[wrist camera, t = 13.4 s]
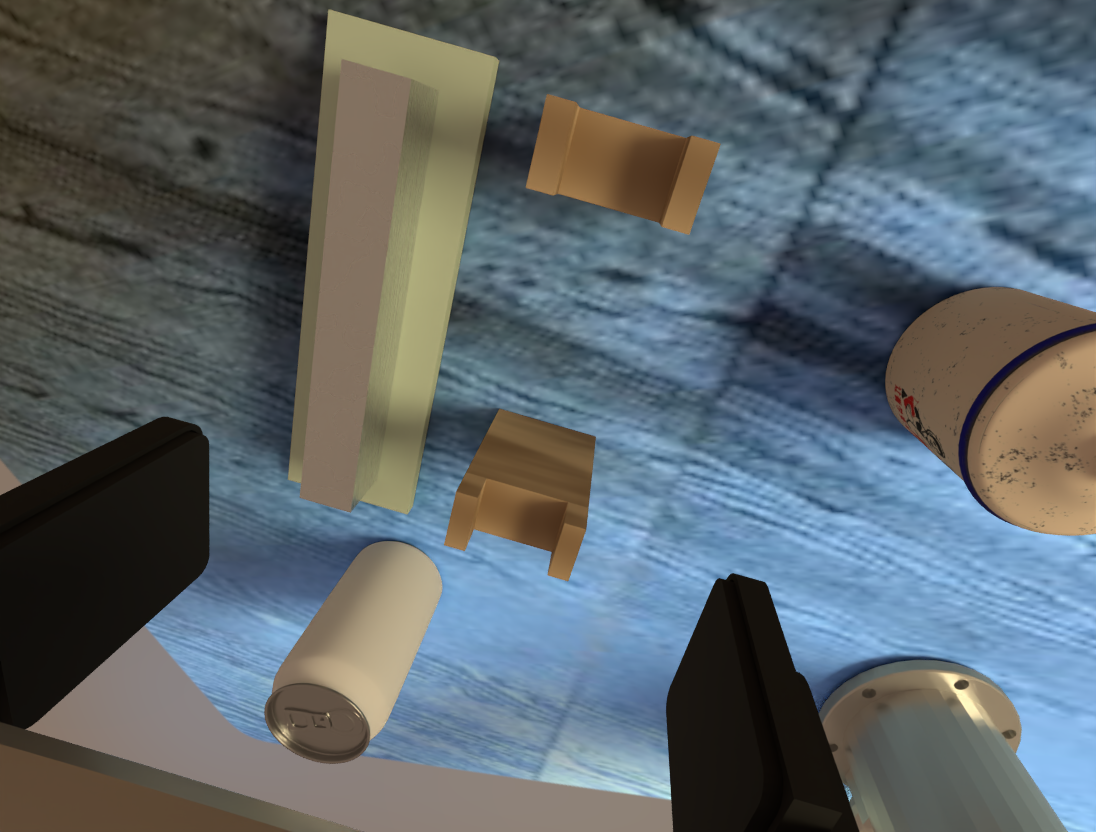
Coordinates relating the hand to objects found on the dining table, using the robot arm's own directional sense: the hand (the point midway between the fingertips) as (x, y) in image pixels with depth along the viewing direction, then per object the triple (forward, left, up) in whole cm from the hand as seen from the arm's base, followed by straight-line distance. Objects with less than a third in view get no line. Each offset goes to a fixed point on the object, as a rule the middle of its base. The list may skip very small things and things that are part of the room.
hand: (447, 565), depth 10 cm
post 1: (-9, -1, -23) cm, 25 cm away
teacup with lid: (+2, -23, -24) cm, 33 cm away
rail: (-3, +10, -22) cm, 25 cm away
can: (-22, +6, -24) cm, 33 cm away
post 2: (+7, -1, -23) cm, 24 cm away
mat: (-3, +10, -23) cm, 26 cm away
